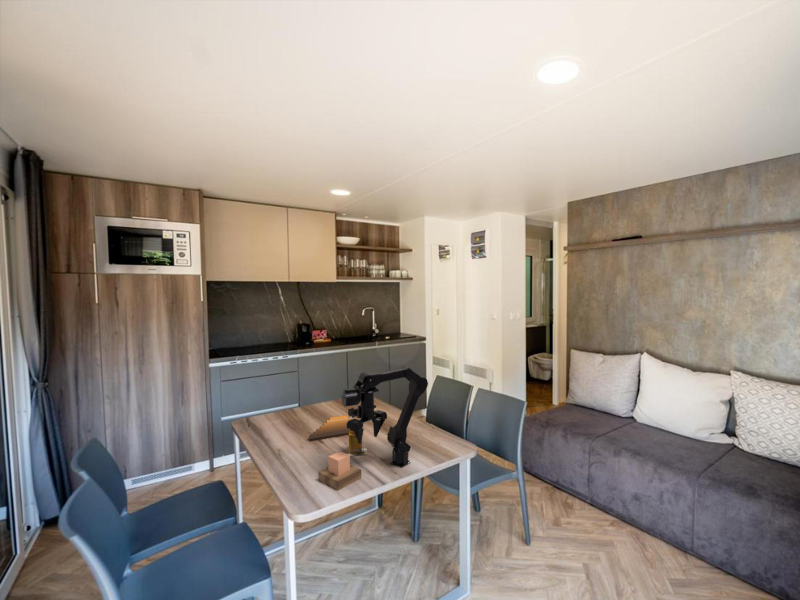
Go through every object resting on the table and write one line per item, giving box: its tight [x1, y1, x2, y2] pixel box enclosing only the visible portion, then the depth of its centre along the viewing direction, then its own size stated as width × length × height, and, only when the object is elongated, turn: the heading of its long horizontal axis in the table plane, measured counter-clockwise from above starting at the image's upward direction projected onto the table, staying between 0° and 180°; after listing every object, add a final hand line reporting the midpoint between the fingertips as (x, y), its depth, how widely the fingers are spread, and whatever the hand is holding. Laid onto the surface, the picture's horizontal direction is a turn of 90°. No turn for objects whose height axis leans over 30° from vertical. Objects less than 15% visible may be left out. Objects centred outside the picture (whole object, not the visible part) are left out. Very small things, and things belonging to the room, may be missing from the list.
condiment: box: [348, 429, 368, 457], centre depth 172 cm, size 7×8×12 cm
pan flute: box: [308, 414, 351, 442], centre depth 202 cm, size 25×3×25 cm
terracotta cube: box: [327, 451, 351, 476], centre depth 147 cm, size 6×6×6 cm
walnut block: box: [318, 464, 362, 491], centre depth 147 cm, size 12×12×4 cm
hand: (367, 440), depth 154 cm, fingers open, 9 cm apart
